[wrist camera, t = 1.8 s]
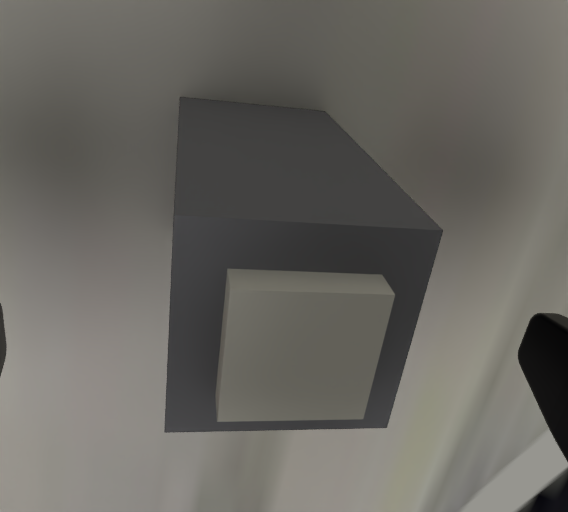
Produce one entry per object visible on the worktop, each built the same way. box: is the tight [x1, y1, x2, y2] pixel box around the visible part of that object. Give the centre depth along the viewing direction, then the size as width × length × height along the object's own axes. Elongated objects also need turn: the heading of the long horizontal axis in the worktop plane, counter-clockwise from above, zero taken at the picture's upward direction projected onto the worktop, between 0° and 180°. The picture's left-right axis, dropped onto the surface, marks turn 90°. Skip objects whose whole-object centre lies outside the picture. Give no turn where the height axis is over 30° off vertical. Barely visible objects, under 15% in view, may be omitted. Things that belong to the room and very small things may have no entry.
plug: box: [165, 97, 443, 432], centre depth 12 cm, size 4×4×9 cm
